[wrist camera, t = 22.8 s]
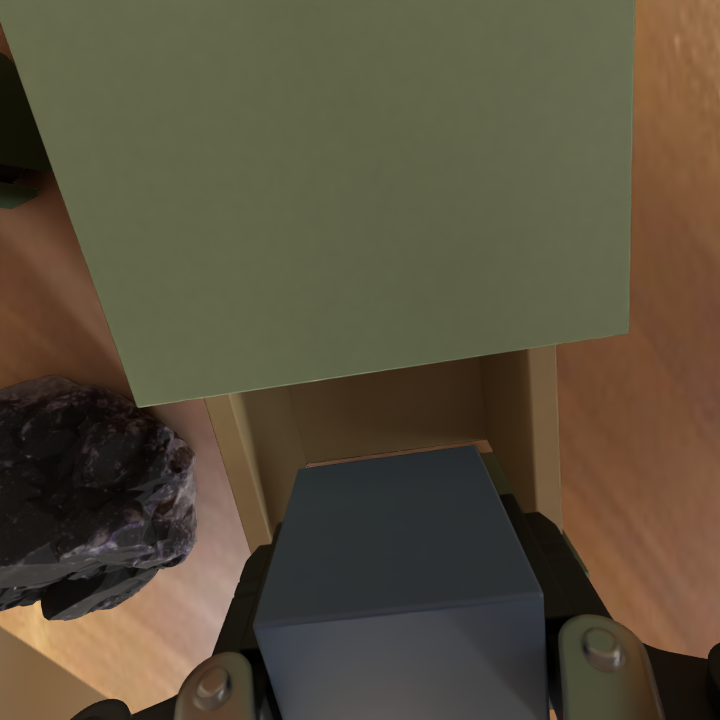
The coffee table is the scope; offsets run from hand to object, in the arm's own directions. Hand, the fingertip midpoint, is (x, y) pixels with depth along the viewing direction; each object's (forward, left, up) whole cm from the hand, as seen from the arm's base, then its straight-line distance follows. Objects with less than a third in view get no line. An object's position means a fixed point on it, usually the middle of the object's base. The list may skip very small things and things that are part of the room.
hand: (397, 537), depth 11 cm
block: (0, 0, 0) cm, 0 cm away
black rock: (+17, 0, -11) cm, 20 cm away
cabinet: (-2, -11, -11) cm, 16 cm away
